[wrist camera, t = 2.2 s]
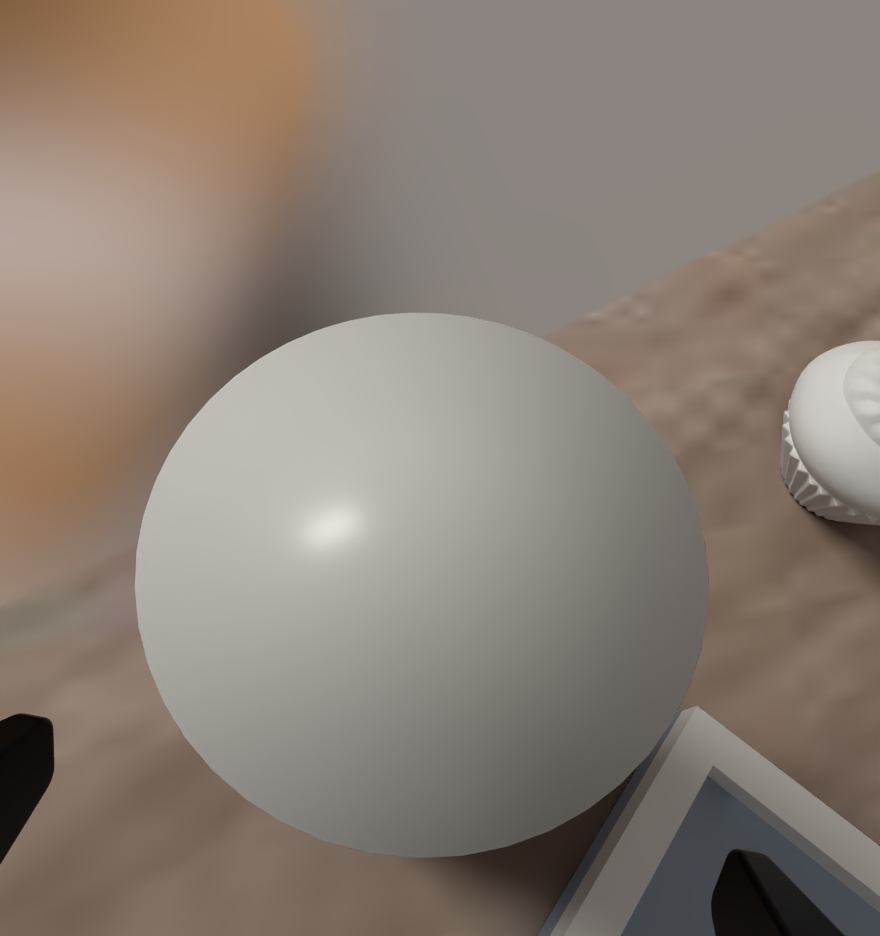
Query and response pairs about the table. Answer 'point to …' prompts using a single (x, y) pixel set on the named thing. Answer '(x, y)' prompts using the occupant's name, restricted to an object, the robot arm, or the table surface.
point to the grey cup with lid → (421, 585)
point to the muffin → (836, 435)
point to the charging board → (712, 842)
